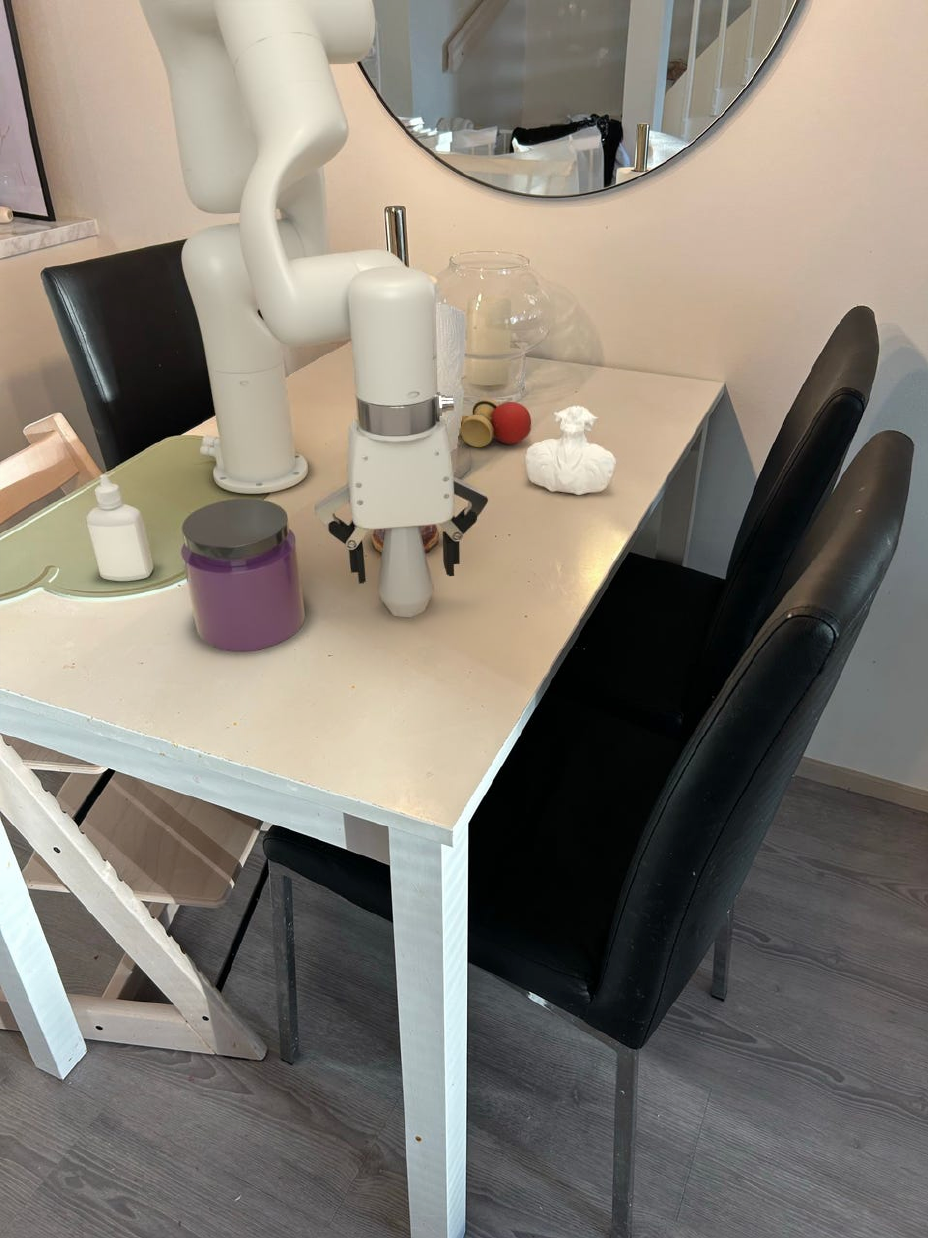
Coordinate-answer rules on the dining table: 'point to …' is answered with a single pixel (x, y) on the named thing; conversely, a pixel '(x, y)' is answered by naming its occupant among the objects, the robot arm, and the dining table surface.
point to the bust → (570, 457)
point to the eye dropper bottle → (118, 536)
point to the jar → (242, 574)
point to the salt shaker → (404, 572)
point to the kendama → (495, 423)
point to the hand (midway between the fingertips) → (405, 572)
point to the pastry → (427, 534)
